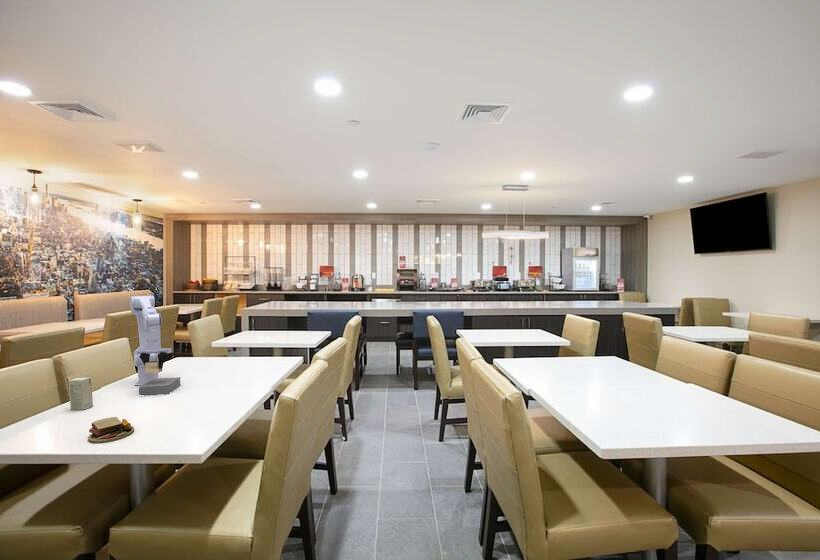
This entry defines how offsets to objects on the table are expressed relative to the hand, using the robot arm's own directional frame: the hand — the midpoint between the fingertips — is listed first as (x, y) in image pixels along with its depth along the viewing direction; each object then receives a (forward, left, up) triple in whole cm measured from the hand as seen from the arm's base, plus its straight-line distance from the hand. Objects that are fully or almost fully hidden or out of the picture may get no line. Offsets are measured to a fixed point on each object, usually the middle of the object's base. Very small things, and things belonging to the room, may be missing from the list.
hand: (154, 369), depth 183 cm
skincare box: (+18, -20, -11) cm, 29 cm away
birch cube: (0, 0, -2) cm, 2 cm away
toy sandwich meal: (+51, +7, -11) cm, 53 cm away
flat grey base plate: (-1, +2, -10) cm, 11 cm away
